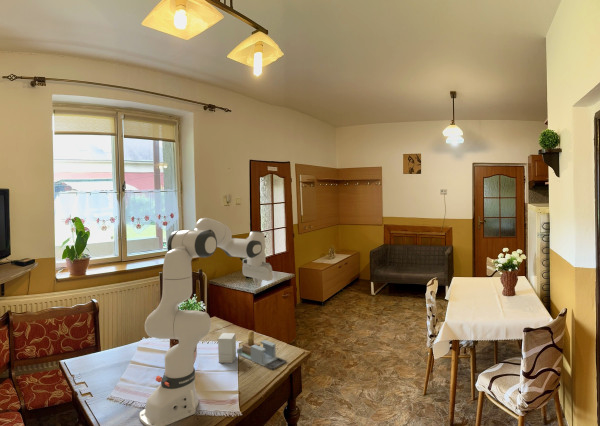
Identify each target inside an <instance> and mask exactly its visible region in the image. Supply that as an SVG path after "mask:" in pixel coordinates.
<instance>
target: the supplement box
mask: <svg viewBox="0 0 600 426" xmlns="http://www.w3.org/2000/svg"><path fill="white" fill-rule="evenodd" d="M236 339H237V338H236V333H234V332H231V333H230V332H221V334H220V335H219V337H218V338H217V346H218V347H217V348H218V349H217V351H218V352H217V353H218V363H224V364H225V363H226V364H233V363H234V362H235V360H236V357H237V348H236V347H237V344H236Z"/></svg>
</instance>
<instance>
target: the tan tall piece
mask: <svg viewBox="0 0 600 426" xmlns="http://www.w3.org/2000/svg"><path fill="white" fill-rule="evenodd" d="M260 344H261V343H260ZM260 344H259V343H256V342H255V331H254V330H248V332H247V342H245V343H243V344H242V346H241V347H242V351H243V352H244V353H246V354H248V355H250V356H251V346H252V345H257V346H260V347H261V345H260Z"/></svg>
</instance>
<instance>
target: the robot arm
mask: <svg viewBox="0 0 600 426" xmlns="http://www.w3.org/2000/svg"><path fill="white" fill-rule="evenodd" d="M232 236H233V234H232V229H231V228H230V227H229V226H228V225H227V224H225V223H222V222H221V221H219V220H215V219H213V218H209V217H202V218H200V219H198V221H196V223H195V225H194V228H193V229H179V230H178V229H177V230H174V231H172V232H171V233H170V235H169V236H168V239H167V245H166V246H167V252H166V253H165V255H164V258H163V263H162V264H163V266H162V292H161V293H162V294H161V300H160V302H159V304H158V306H157V307H156V308H155V310H153V311H152V312H151V313H149V315H148V316H147V318H146V319H145V322H144V331H145V333H146V335H147V337H150V338H153V339H154V338H155V339H159V340H178V343H177V344H175V345H173V346H172V347H170V348H169V349H168V350H166V352H165V355H164V373H163V376H161V375H157V376H156V377H155V381H156V382H158V383H160V384H159V385H158V386H157V388H156V389H155V390H154V391H153V392H152V393H151V395H149V396H148V397H147V399H146V401H145V408H144V409H143V410H142V409H141V411H139V415H138V416H139V417H138V418H139V420H140V422H141V423H142V424H143V425H144V426H169V425H170V424H174V423H176V422H178V421H181V420H184V419H185V418H187V417H190V416H192V415H195V414H196V413H197V411H196V410H197V407H198V405H199V402H200V400H199V398H198V395H197V390H196V384H195V383H196V382H195V380H196V369H195V365H194V362H195V351H196V348H197V345H198V344H199V342H200V341H201V340H202V339H203V338H205V337H206V336H207V335H208V333H209V332H210V330H211V326H212V320H211V317H210V315H209V313H207V312H205V311H201V310H194V309H193V310H192V309H191V310H190V309H189V310H186V309H185V310H183V309H179V305H180V304H182V303H184V302H186V301H187V300H189V298H191V297H192V294H193V271H192V270H193V269H192V261H193V258H208V257H209V258H210V257H212V256H213V255H214V253H215V252H216V250H217V248H219V249H221V250H223V252H224V254H226V256H228V257H230V258H242V275H243V276H245V277H248V278H252V280H253V283H254V287H257V288H260V287H261V285H262V284H261V283H262V282H263V281H267V282H270V281H273V278H274V275H273V273H274V272H273V267H272V265H271V264H270V262H266V252H265V250H266V236H265V233H264V232H262V231H255V230H252V231H250V232H249V236H247V237H246V238H237V237H236V238H235V237H232Z"/></svg>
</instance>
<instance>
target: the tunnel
mask: <svg viewBox="0 0 600 426" xmlns="http://www.w3.org/2000/svg"><path fill="white" fill-rule="evenodd" d="M260 344H262V346H261V345H260V346H257V345H252V346H251V356H250V355H248V354H246V353H244V352H243V351H242V346H241V347H239V348H236V354H237V355H238V356H241V357H242V358H244V359H247V360H249V361H252V362H254V363H256V364H258V365H261V366H263V367H265V368H267V369H268V370H271V371H274V370H276V369H277V368H279V367H280V366H283V365H284V364H286V363H287V360H285V359H283V358H281V357H279V356H276V355H277V354H276V352H277V350H276V347H277V346H276V343H274V342H271V341H268V340H266V339H263V340H261V341H260Z"/></svg>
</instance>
